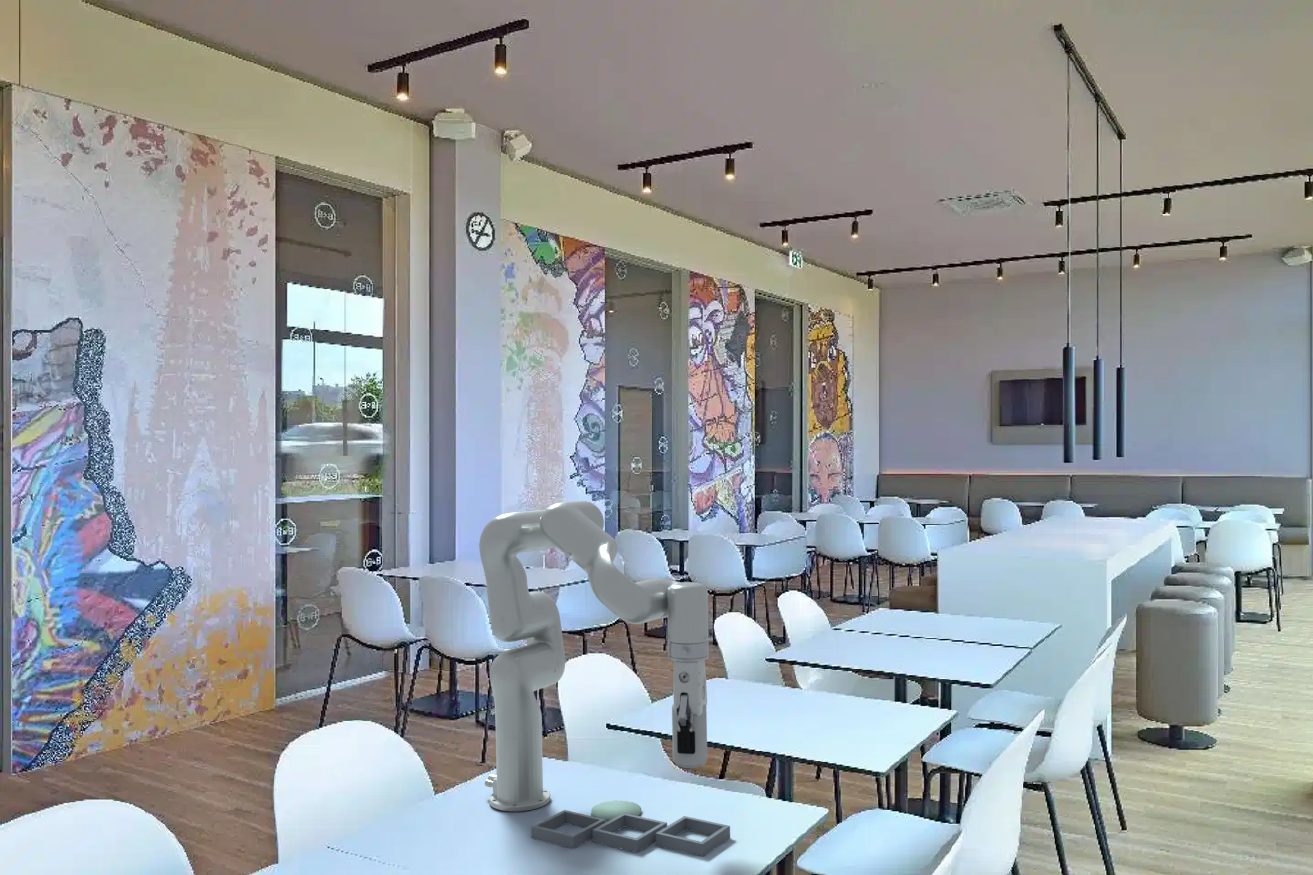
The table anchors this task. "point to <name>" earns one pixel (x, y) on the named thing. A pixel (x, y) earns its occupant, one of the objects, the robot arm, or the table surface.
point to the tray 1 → (547, 834)
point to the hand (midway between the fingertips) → (689, 746)
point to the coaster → (615, 809)
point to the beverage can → (700, 741)
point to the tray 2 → (608, 837)
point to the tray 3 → (672, 841)
